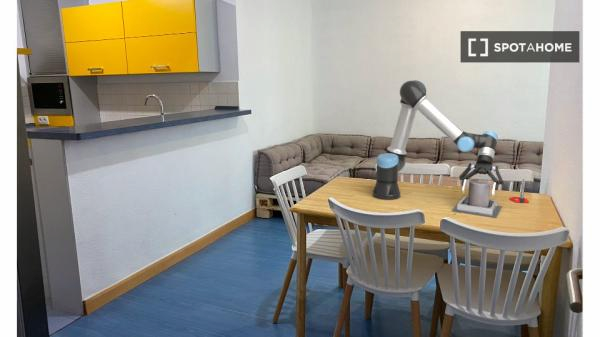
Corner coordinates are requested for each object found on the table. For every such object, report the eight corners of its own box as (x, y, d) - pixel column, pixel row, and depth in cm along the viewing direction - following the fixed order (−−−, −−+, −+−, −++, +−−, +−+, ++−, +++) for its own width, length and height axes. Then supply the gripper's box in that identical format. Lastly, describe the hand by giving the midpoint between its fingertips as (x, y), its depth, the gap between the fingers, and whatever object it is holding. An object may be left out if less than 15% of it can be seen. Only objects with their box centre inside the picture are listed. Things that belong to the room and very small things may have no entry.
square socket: (452, 211, 201) (452, 204, 201) (460, 202, 216) (460, 195, 215) (496, 218, 191) (497, 210, 190) (501, 207, 205) (502, 200, 205)
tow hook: (507, 198, 222) (513, 202, 213) (509, 175, 220) (515, 178, 211) (523, 199, 221) (530, 203, 212) (525, 175, 219) (532, 179, 210)
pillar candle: (464, 205, 208) (466, 176, 205) (484, 205, 208) (486, 176, 204) (471, 211, 199) (473, 181, 196) (491, 211, 198) (494, 181, 195)
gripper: (512, 164, 205) (506, 200, 196) (460, 160, 218) (452, 193, 209) (512, 155, 199) (505, 192, 190) (459, 151, 213) (450, 186, 204)
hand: (477, 193), depth 200 cm, fingers open, 13 cm apart
